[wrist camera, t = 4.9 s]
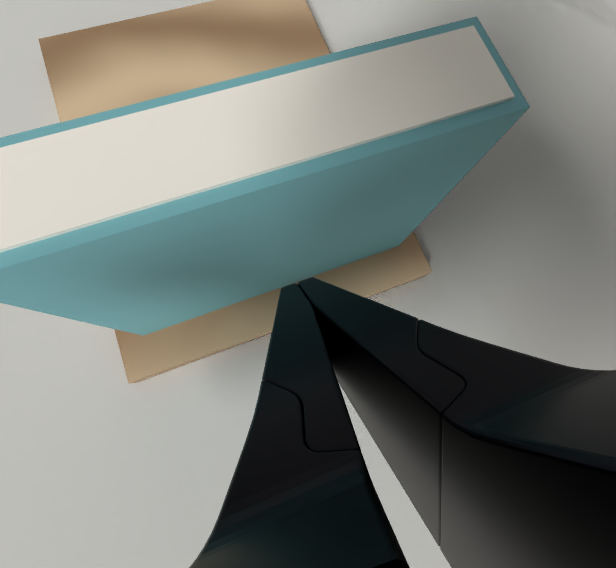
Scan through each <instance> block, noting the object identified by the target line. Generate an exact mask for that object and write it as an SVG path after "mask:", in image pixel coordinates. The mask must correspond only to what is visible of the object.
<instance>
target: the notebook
mask: <svg viewBox="0 0 616 568" xmlns="http://www.w3.org/2000/svg"><path fill="white" fill-rule="evenodd" d="M529 107H530V106H529V105H528V103H527V101H526V100H525V98H524V96H523V95H522V93H521V91H520V89H519V88H518V86H517V84H516V83H515V81H514V79H513V77H512V76H511V74H510V72H509V71H508V69H507V67H506V66H505V64H504V62H503V60H502V59H501V57H500V55H499V54H498V52H497V50H496V48H495V47H494V45H493V43H492V42H491V40H490V38H489V37H488V35H487V33H486V31H485V30H484V28H483V26H482V25H481V23H480V21H479V20H478V18H477V17H473V18H469V19H465V20H462V21H458V22H454V23H450V24H446V25H442V26H438V27H434V28H430V29H426V30H422V31H418V32H414V33H410V34H407V35H403V36H399V37H395V38H391V39H387V40H383V41H379V42H375V43H371V44H367V45H363V46H359V47H355V48H352V49H348V50H344V51H340V52H336V53H332V54H328V55H324V56H320V57H316V58H312V59H308V60H304V61H300V62H297V63H293V64H289V65H285V66H281V67H277V68H273V69H269V70H265V71H261V72H257V73H253V74H249V75H246V76H242V77H238V78H234V79H230V80H226V81H222V82H218V83H214V84H210V85H206V86H202V87H198V88H194V89H191V90H187V91H183V92H179V93H175V94H171V95H167V96H163V97H159V98H155V99H151V100H147V101H143V102H139V103H136V104H132V105H128V106H124V107H120V108H116V109H112V110H108V111H104V112H100V113H96V114H92V115H88V116H84V117H81V118H77V119H73V120H69V121H65V122H61V123H57V124H53V125H49V126H45V127H41V128H37V129H33V130H29V131H26V132H22V133H18V134H14V135H10V136H6V137H2V138H0V303H4V304H8V305H13V306H17V307H21V308H26V309H30V310H34V311H39V312H43V313H47V314H52V315H56V316H60V317H65V318H69V319H73V320H78V321H82V322H86V323H90V324H95V325H99V326H103V327H108V328H112V329H116V330H121V331H125V332H129V333H134V334H138V335H142V336H144V335H147V334H150V333H152V332H155V331H158V330H161V329H164V328H167V327H169V326H172V325H175V324H178V323H181V322H184V321H187V320H189V319H192V318H195V317H198V316H201V315H204V314H206V313H209V312H212V311H215V310H218V309H221V308H224V307H226V306H229V305H232V304H235V303H238V302H241V301H243V300H246V299H249V298H252V297H255V296H258V295H260V294H263V293H266V292H269V291H272V290H275V289H278V288H280V287H283V286H286V285H289V284H292V283H295V282H297V281H300V280H303V279H306V278H309V277H312V276H315V275H317V274H320V273H323V272H326V271H329V270H332V269H334V268H337V267H340V266H343V265H346V264H349V263H352V262H354V261H357V260H360V259H363V258H366V257H369V256H371V255H374V254H377V253H380V252H383V251H386V250H388V249H391V248H394V247H397V246H399V245H400V244H401V243H402V242H403V241H404V240H405V239H406V238H407V237H408V236H409V235H410V234H411V232H412V231H413V230H414V229H415V228H416V227H417V226H418V225H419V224H420V223H421V222H422V221H423V220H424V219H425V218H426V217H427V215H428V214H429V213H430V212H431V211H432V210H433V209H434V208H435V207H436V206H437V205H438V204H439V203H440V202H441V201H442V200H443V199H444V197H445V196H446V195H447V194H448V193H449V192H450V191H451V190H452V189H453V188H454V187H455V186H456V185H457V184H458V183H459V182H460V180H461V179H462V178H463V177H464V176H465V175H466V174H467V173H468V172H469V171H470V170H471V169H472V168H473V167H474V166H475V165H476V164H477V162H478V161H479V160H480V159H481V158H482V157H483V156H484V155H485V154H486V153H487V152H488V151H489V150H490V149H491V148H492V147H493V145H494V144H495V143H496V142H497V141H498V140H499V139H500V138H501V137H502V136H503V135H504V134H505V133H506V132H507V131H508V130H509V129H510V127H511V126H512V125H513V124H514V123H515V122H516V121H517V120H518V119H519V118H520V117H521V116H522V115H523V114H524V113H525V112H526V111H527V109H528V108H529Z"/></svg>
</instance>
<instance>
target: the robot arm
mask: <svg viewBox="0 0 616 568" xmlns="http://www.w3.org/2000/svg"><path fill="white" fill-rule="evenodd" d="M338 382H339V383H338ZM339 384H340V386H341V387H342V389H343V390H344V392H345V394H346V395H347V397H348V399H349V400H350V402H351V404H352V405H353V407H354V408H355V410H356V412H357V413H358V415H359V417H360V418H361V420H362V422H363V423H364V425H365V426H366V428H367V430H368V431H369V433H370V435H371V436H372V438H373V440H374V441H375V443H376V444H377V446H378V448H379V449H380V451H381V453H382V454H383V456H384V457H385V459H386V461H387V462H388V464H389V466H390V467H391V469H392V471H393V472H394V474H395V475H396V477H397V479H398V480H399V482H400V484H401V485H402V487H403V489H404V490H405V492H406V493H407V495H408V497H409V498H410V500H411V502H412V503H413V505H414V507H415V508H416V510H417V511H418V513H419V515H420V516H421V518H422V520H423V521H424V523H425V525H426V526H427V528H428V529H429V531H430V533H431V534H432V536H433V538H434V539H435V541H436V543H437V544H438V545H439V546H440V549H441V551H442V553H443V554H444V556H445V558H446V559H447V561H448V562H449V564H450V566H451V567H452V568H616V370H588V369H580V368H574V367H569V366H565V365H561V364H557V363H554V362H550V361H547V360H543V359H540V358H537V357H533V356H530V355H527V354H523V353H520V352H516V351H513V350H510V349H506V348H503V347H500V346H496V345H493V344H489V343H486V342H483V341H480V340H477V339H474V338H470V337H467V336H464V335H461V334H458V333H455V332H452V331H450V330H447V329H444V328H442V327H439V326H436V325H434V324H431V323H429V322H426V321H423V320H418V318H416V317H413V316H410V315H408V314H405V313H403V312H400V311H398V310H395V309H393V308H390V307H388V306H385V305H383V304H380V303H378V302H375V301H373V300H370V299H368V298H365V297H362V296H360V295H357V294H355V293H352V292H350V291H347V290H345V289H342V288H340V287H337V286H335V285H332V284H330V283H327V282H325V281H322V280H320V279H317V278H314V277H310V278H307V279H304V280H302V281H299V282H298V284H296V283H293V284H290V285H287V286H285V287H282V288H281V290H280V294H279V299H278V304H277V309H276V314H275V319H274V324H273V329H272V333H271V338H270V343H269V348H268V353H267V358H266V363H265V368H264V373H263V377H262V382H261V386H260V391H259V396H258V400H257V404H256V408H255V412H254V416H253V420H252V423H251V426H250V429H249V432H248V435H247V438H246V441H245V444H244V447H243V450H242V453H241V455H240V458H239V461H238V464H237V467H236V469H235V472H234V475H233V478H232V480H231V483H230V486H229V489H228V492H227V494H226V497H225V500H224V503H223V506H222V508H221V511H220V514H219V516H218V519H217V522H216V524H215V526H214V528H213V531H212V533H211V535H210V537H209V539H208V540H207V542H206V544H205V546H204V548H203V549H202V551H201V552H200V554H199V555H198V557H197V559H196V560H195V561H194V562H193V564H192V565H191V566H190V567H189V568H409V565H408V563H407V561H406V559H405V556H404V554H403V552H402V550H401V547H400V545H399V543H398V540H397V538H396V536H395V534H394V531H393V529H392V527H391V525H390V522H389V520H388V518H387V516H386V513H385V511H384V509H383V506H382V504H381V502H380V500H379V497H378V495H377V493H376V491H375V488H374V486H373V483H372V480H371V478H370V475H369V472H368V470H367V467H366V464H365V461H364V458H363V455H362V453H361V449H360V446H359V443H358V440H357V437H356V434H355V431H354V428H353V425H352V422H351V419H350V416H349V413H348V410H347V407H346V404H345V401H344V398H343V395H342V392H341V389H340V386H339Z"/></svg>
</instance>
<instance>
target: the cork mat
mask: <svg viewBox="0 0 616 568" xmlns="http://www.w3.org/2000/svg"><path fill="white" fill-rule="evenodd" d="M39 43H40V47H41V50H42V54H43V58H44V62H45V66H46V70H47V73H48V77H49V81H50V85H51V89H52V92H53V96H54V100H55V104H56V108H57V112H58V115H59V119H60V123H61V122H65V121H69V120H73V119H77V118H81V117H84V116H88V115H92V114H96V113H100V112H104V111H108V110H112V109H116V108H120V107H124V106H128V105H132V104H136V103H139V102H143V101H147V100H151V99H155V98H159V97H163V96H167V95H171V94H175V93H179V92H183V91H187V90H191V89H194V88H198V87H202V86H206V85H210V84H214V83H218V82H222V81H226V80H230V79H234V78H238V77H242V76H246V75H249V74H253V73H257V72H261V71H265V70H269V69H273V68H277V67H281V66H285V65H289V64H293V63H297V62H300V61H304V60H308V59H312V58H316V57H320V56H324V55H328V54H330V52H329V50H328V47H327V45H326V43H325V41H324V39H323V37H322V35H321V32H320V30H319V28H318V26H317V24H316V22H315V20H314V17H313V15H312V13H311V11H310V9H309V7H308V5H307V2H306V0H215V1H210V2H206V3H201V4H197V5H192V6H188V7H183V8H178V9H174V10H169V11H165V12H160V13H156V14H151V15H147V16H142V17H137V18H133V19H128V20H124V21H119V22H115V23H110V24H105V25H101V26H96V27H92V28H87V29H83V30H78V31H74V32H69V33H64V34H60V35H55V36H51V37H46V38H42V39H39ZM430 272H432V270H431V268H430V266H429V264H428V262H427V259H426V257H425V255H424V253H423V251H422V249H421V247H420V244H419V242H418V240H417V238H416V236H415V234H414V232H413V231H412V232H411V234H410V235H409V236H408V237H407V238H406V239H405V240H404V241H403V242H402V243H401V244H400V245H399V246H397V247H394V248H391V249H388V250H386V251H383V252H380V253H377V254H374V255H371V256H369V257H366V258H363V259H360V260H357V261H354V262H352V263H349V264H346V265H343V266H340V267H337V268H334V269H332V270H329V271H326V272H323V273H320V274H317V275H315V276H312V277H314V278H317V279H320V280H322V281H325V282H327V283H330V284H332V285H335V286H337V287H340V288H342V289H345V290H347V291H350V292H352V293H355V294H357V295H360V296H362V297H365V298H367V297H369V296H372V295H375V294H377V293H380V292H383V291H386V290H388V289H391V288H394V287H396V286H399V285H402V284H404V283H407V282H410V281H413V280H415V279H418V278H421V277H423V276H426V275H427V274H429V273H430ZM309 278H310V277H309ZM306 279H307V278H306ZM303 280H304V279H303ZM300 281H302V280H300ZM298 282H299V281H297V282H295V283H296V284H298ZM292 284H293V283H292ZM289 285H290V284H289ZM286 286H287V285H286ZM283 287H285V286H283ZM281 288H282V287H280V288H278V289H275V290H272V291H269V292H266V293H263V294H260V295H258V296H255V297H252V298H249V299H246V300H243V301H241V302H238V303H235V304H232V305H229V306H226V307H224V308H221V309H218V310H215V311H212V312H209V313H206V314H204V315H201V316H198V317H195V318H192V319H189V320H187V321H184V322H181V323H178V324H175V325H172V326H169V327H167V328H164V329H161V330H158V331H155V332H152V333H150V334H147V335H144V336H142V335H138V334H134V333H129V332H125V331H121V330H116V329H115V333H116V337H117V341H118V344H119V348H120V352H121V356H122V360H123V364H124V367H125V371H126V375H127V379H128V383H137V382H140V381H142V380H145V379H148V378H150V377H153V376H156V375H159V374H161V373H164V372H167V371H169V370H172V369H175V368H177V367H180V366H183V365H186V364H188V363H191V362H194V361H196V360H199V359H202V358H204V357H207V356H210V355H213V354H215V353H218V352H221V351H223V350H226V349H229V348H231V347H234V346H237V345H240V344H242V343H245V342H248V341H250V340H253V339H256V338H259V337H261V336H264V335H267V334H269V333H272V329H273V324H274V319H275V314H276V309H277V304H278V299H279V294H280V290H281Z"/></svg>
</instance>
